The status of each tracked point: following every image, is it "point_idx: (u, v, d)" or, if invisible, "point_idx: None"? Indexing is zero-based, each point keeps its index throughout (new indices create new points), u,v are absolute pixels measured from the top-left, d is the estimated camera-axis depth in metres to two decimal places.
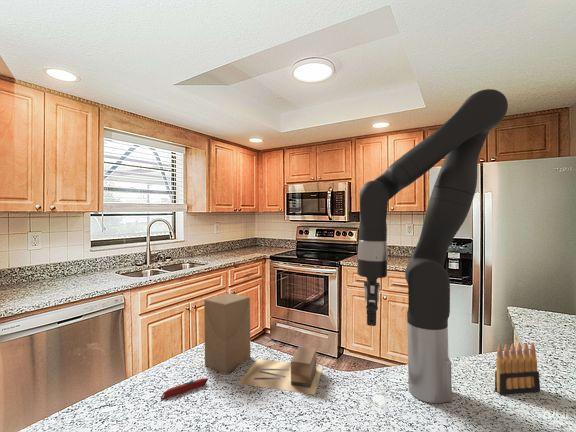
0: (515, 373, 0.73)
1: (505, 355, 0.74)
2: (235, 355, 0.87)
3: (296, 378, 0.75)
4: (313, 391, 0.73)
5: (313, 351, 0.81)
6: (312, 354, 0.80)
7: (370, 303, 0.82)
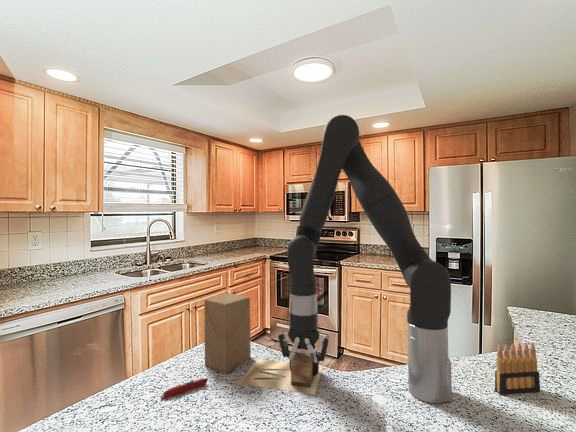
0: (515, 373, 0.73)
1: (505, 355, 0.74)
2: (235, 355, 0.87)
3: (296, 378, 0.75)
4: (313, 391, 0.73)
5: None
6: None
7: None
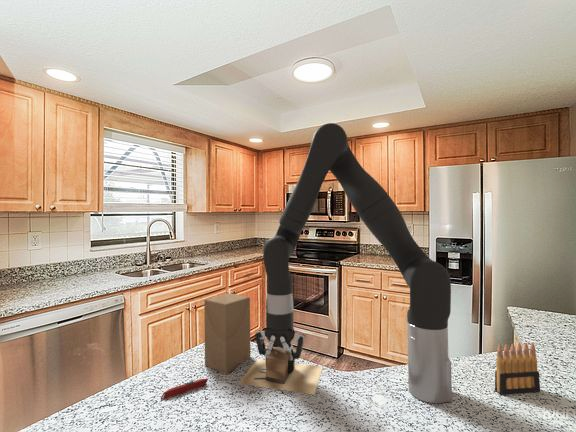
0: (515, 373, 0.73)
1: (505, 355, 0.74)
2: (235, 355, 0.87)
3: (271, 374, 0.77)
4: (313, 391, 0.73)
5: None
6: None
7: None
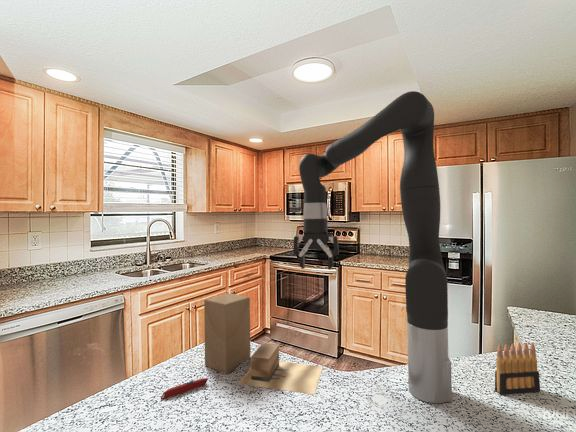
0: (515, 373, 0.73)
1: (505, 355, 0.74)
2: (235, 355, 0.87)
3: (256, 373, 0.78)
4: (313, 391, 0.73)
5: (275, 347, 0.84)
6: (273, 350, 0.82)
7: (303, 258, 0.95)
